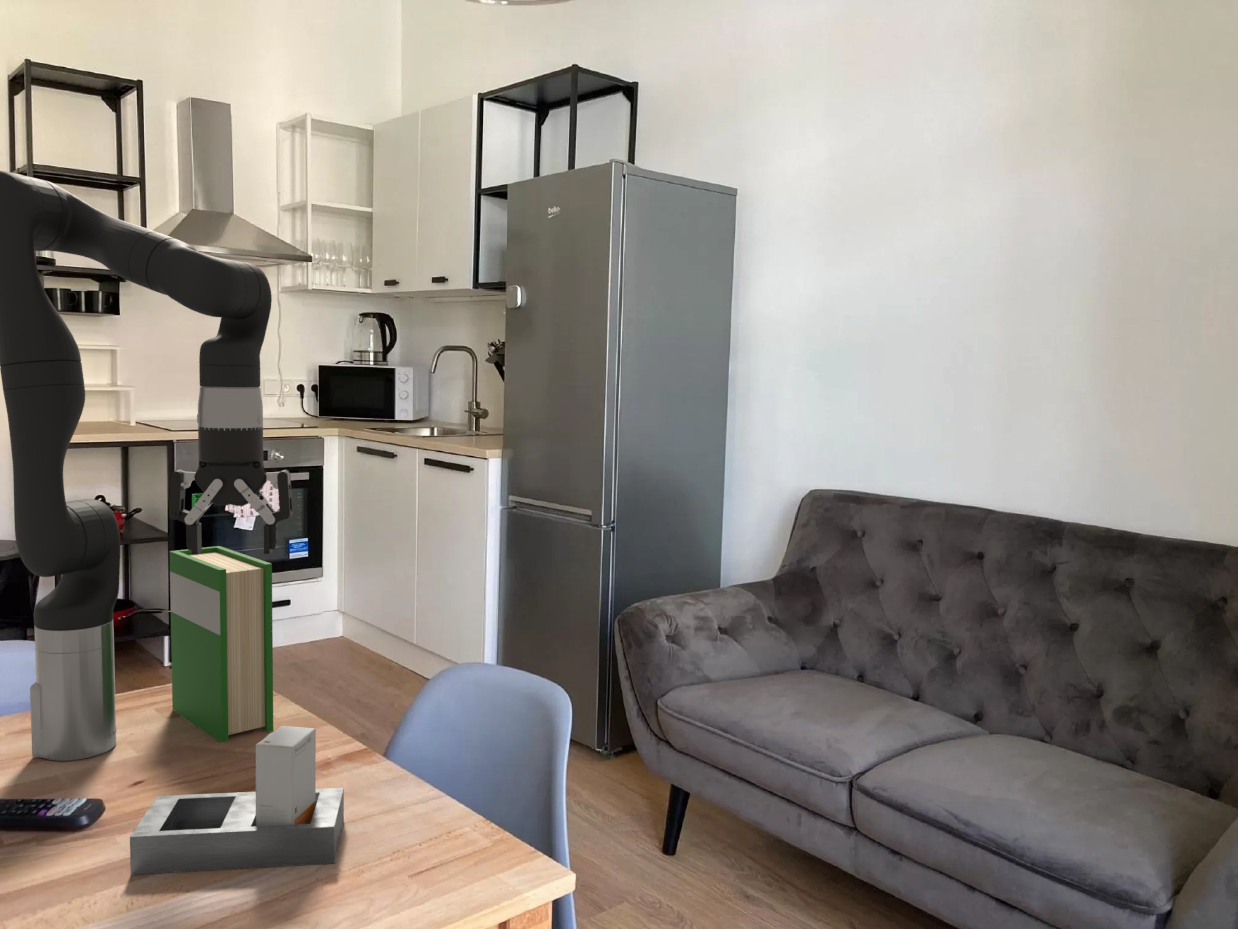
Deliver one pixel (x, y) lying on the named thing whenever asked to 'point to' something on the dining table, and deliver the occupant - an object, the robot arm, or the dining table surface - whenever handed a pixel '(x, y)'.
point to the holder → (231, 834)
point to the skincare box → (286, 777)
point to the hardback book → (222, 640)
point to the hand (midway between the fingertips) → (232, 553)
